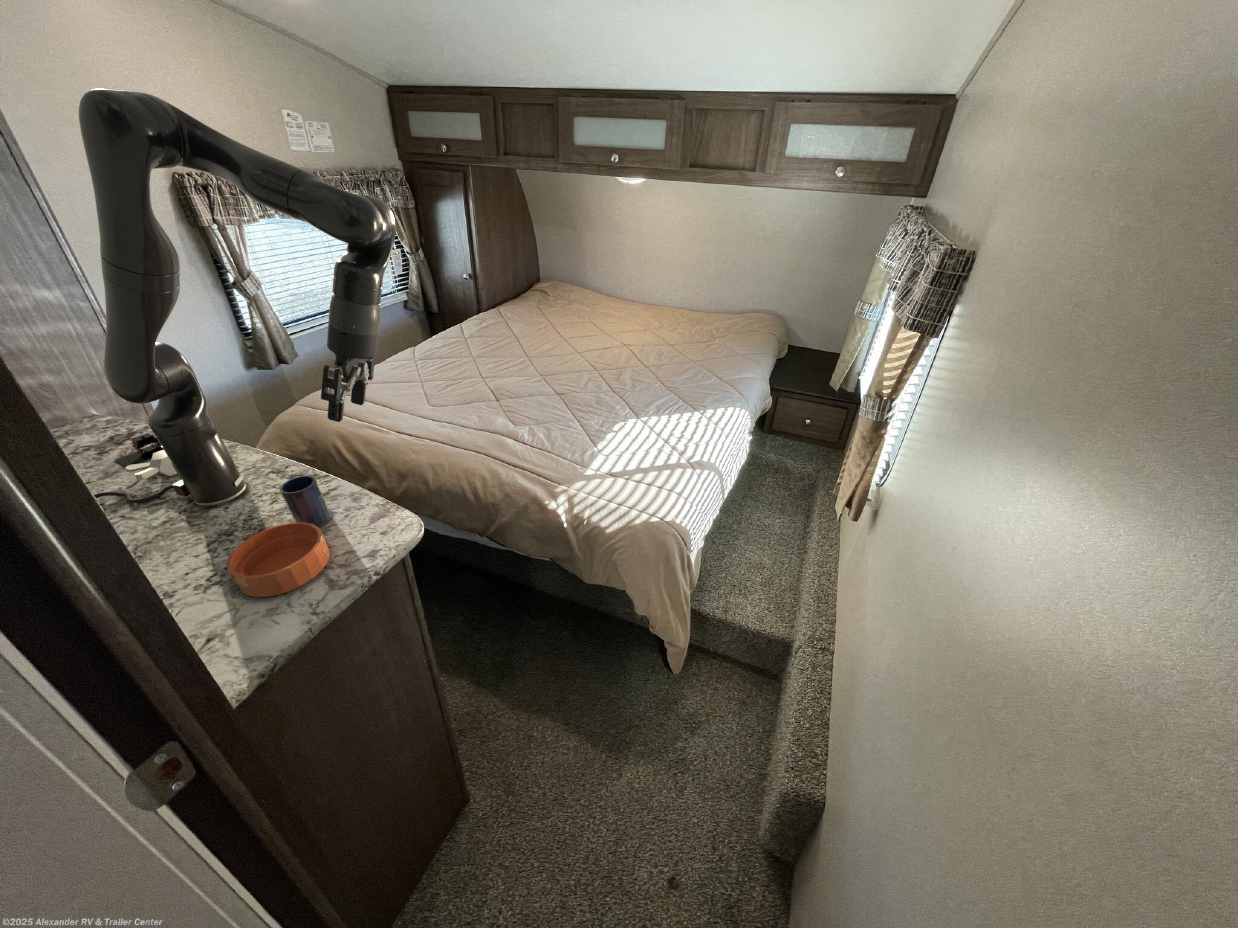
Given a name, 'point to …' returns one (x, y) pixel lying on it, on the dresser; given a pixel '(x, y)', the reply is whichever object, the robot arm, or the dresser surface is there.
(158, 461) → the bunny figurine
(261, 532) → the bowl
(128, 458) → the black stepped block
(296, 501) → the blue cup
